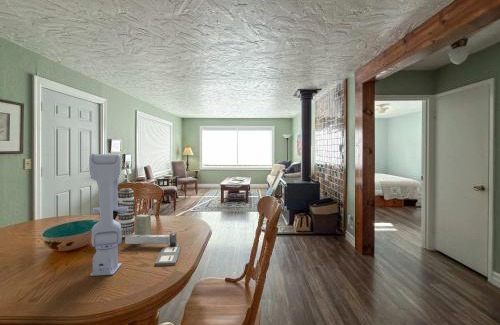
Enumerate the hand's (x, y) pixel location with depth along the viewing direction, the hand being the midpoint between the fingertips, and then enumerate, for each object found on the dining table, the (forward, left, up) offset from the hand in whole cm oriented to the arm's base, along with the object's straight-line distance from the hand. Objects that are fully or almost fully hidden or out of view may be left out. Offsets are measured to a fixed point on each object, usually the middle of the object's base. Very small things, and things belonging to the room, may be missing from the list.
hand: (110, 227), depth 120 cm
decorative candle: (+24, +1, -11) cm, 26 cm away
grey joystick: (+2, -27, -10) cm, 29 cm away
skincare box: (+16, -10, -11) cm, 22 cm away
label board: (-10, -27, -10) cm, 31 cm away
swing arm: (+4, -15, -9) cm, 18 cm away
